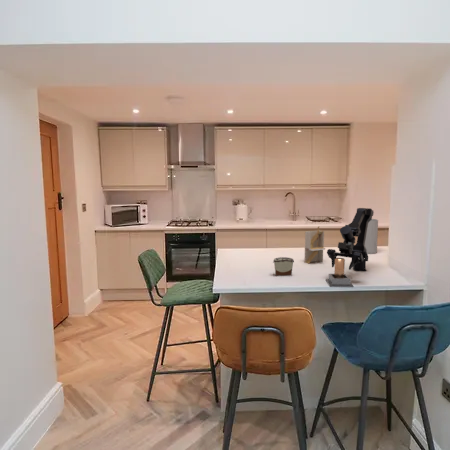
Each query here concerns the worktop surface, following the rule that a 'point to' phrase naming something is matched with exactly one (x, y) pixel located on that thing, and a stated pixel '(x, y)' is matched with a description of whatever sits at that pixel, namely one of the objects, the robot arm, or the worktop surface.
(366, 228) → the robot arm
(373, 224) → the grey tall block
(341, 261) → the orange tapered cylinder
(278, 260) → the food container
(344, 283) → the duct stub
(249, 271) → the worktop surface
